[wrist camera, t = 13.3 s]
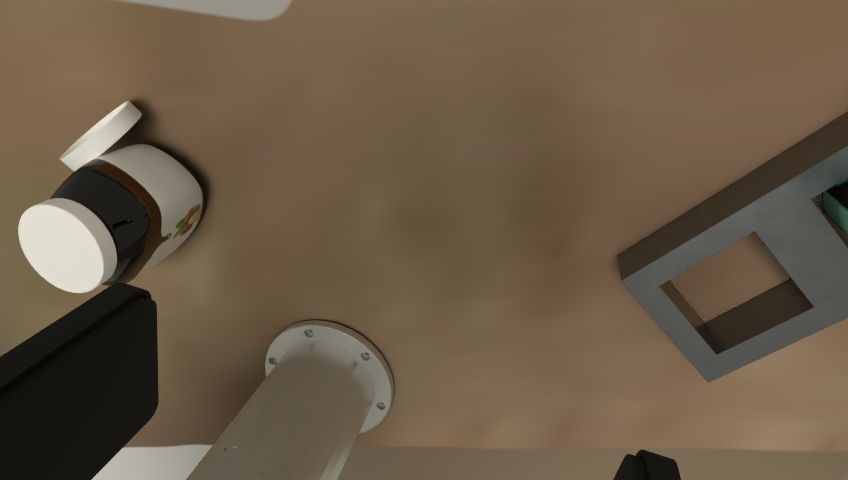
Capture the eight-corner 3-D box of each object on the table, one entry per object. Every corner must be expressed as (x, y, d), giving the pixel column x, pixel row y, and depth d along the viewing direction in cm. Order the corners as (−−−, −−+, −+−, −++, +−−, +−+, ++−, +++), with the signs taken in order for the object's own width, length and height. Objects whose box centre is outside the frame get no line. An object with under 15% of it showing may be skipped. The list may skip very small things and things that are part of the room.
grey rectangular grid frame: (697, 349, 43) (708, 385, 39) (617, 255, 41) (621, 283, 38) (1001, 198, 34) (1054, 225, 30) (914, 70, 32) (959, 82, 29)
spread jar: (183, 258, 52) (86, 327, 41) (81, 184, 51) (-43, 235, 41) (235, 161, 46) (137, 212, 36) (121, 75, 45) (-12, 103, 35)
